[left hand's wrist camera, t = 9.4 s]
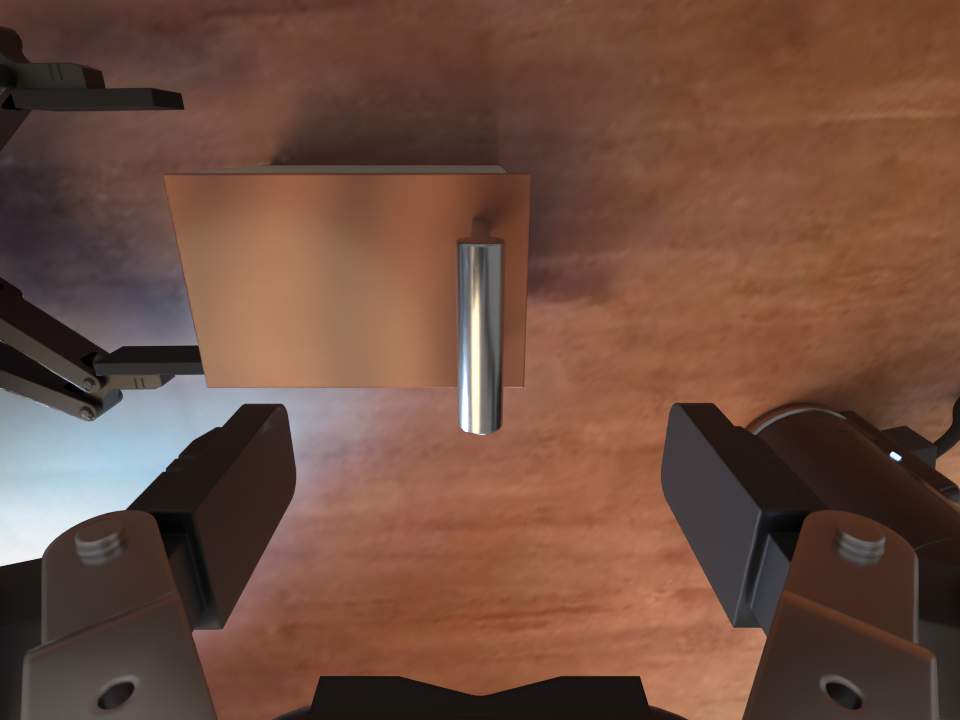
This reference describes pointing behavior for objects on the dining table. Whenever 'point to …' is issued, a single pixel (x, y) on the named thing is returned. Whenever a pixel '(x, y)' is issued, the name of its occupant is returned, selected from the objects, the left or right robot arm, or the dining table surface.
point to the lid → (359, 281)
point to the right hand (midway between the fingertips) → (198, 240)
